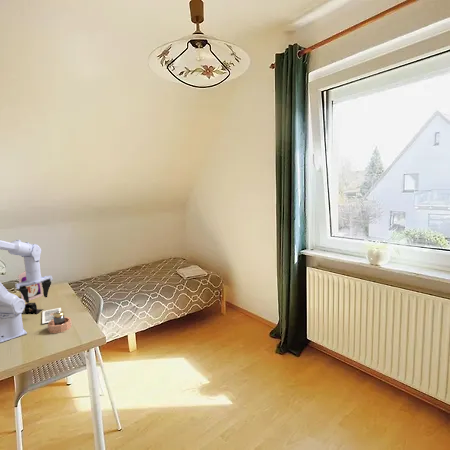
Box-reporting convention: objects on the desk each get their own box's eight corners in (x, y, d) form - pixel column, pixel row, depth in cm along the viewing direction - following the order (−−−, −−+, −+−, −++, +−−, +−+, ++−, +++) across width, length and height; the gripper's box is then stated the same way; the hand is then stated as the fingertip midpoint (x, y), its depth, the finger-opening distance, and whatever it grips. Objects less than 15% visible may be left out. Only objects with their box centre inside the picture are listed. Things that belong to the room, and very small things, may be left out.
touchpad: (42, 325, 138) (42, 321, 138) (42, 313, 151) (42, 309, 151) (62, 321, 142) (62, 316, 142) (61, 309, 155) (60, 305, 155)
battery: (56, 329, 132) (54, 314, 131) (53, 326, 135) (51, 311, 134) (66, 326, 134) (65, 311, 134) (63, 323, 137) (61, 309, 136)
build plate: (13, 316, 149) (12, 306, 149) (24, 309, 157) (22, 300, 156) (38, 316, 149) (37, 306, 148) (48, 309, 156) (47, 300, 155)
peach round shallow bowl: (53, 335, 129) (52, 328, 128) (45, 328, 135) (44, 322, 134) (74, 327, 135) (74, 320, 135) (66, 321, 141) (66, 315, 140)
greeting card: (23, 303, 163) (19, 275, 160) (14, 301, 166) (10, 274, 163) (43, 295, 173) (40, 269, 171) (34, 294, 176) (31, 268, 174)
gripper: (17, 276, 132) (21, 306, 135) (53, 268, 144) (57, 296, 146) (11, 273, 137) (16, 303, 139) (47, 265, 148) (50, 293, 150)
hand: (36, 299), depth 143 cm, fingers open, 7 cm apart
